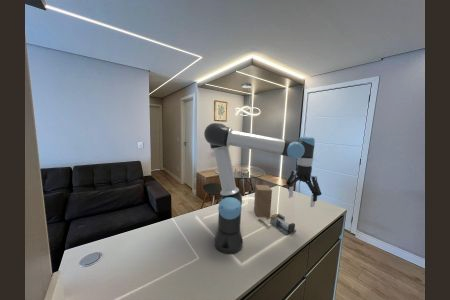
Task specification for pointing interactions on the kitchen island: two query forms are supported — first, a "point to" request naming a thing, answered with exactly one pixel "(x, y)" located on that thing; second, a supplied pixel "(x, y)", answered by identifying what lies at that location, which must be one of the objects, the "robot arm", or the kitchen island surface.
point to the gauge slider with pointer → (284, 224)
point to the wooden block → (262, 200)
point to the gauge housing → (276, 224)
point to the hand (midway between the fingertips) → (300, 201)
